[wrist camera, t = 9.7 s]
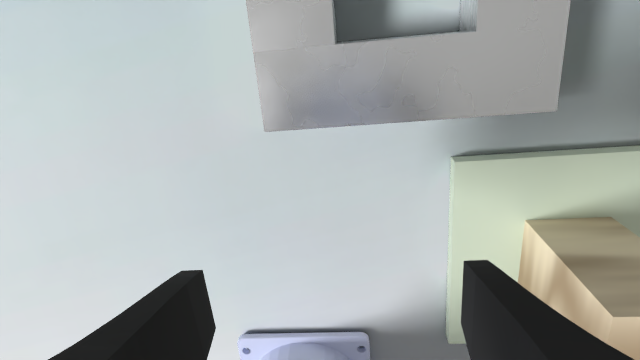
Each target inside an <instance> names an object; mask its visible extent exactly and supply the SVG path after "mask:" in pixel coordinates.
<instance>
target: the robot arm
mask: <svg viewBox="0 0 640 360" xmlns="http://www.w3.org/2000/svg"><path fill="white" fill-rule="evenodd" d="M461 326H462V329H463V333H464V337H465V341H466V344H467V348H468V351H469V355H470V358H471V360H634V359H633V358H631V357H629V356H627V355H626V354H624V353H622V352H620V351H619V350H617V349H615V348H613V347H612V346H610V345H608V344H606V343H605V342H603V341H601V340H600V339H598V338H597V337H595V336H593V335H592V334H590V333H589V332H587V331H586V330H584V329H582V328H581V327H579V326H578V325H576V324H575V323H573V322H572V321H570V320H569V319H567V318H566V317H564V316H563V315H561V314H560V313H558V312H557V311H556V310H554V309H553V308H551V307H550V306H548V305H547V304H546V303H544V302H543V301H542V300H540V299H539V298H537V297H536V296H535V295H533V294H532V293H531V292H529V291H528V290H527V289H525V288H524V287H523V286H521V285H520V284H519V283H518V282H516V281H515V280H514V279H512V278H511V277H510V276H508V275H507V274H506V273H505V272H503V271H502V270H501V269H499V268H498V267H497V266H495V265H494V264H493V263H491V262H490V261H489V260H469V261H464V265H463V286H462V307H461ZM215 329H216V327H215V323H214V318H213V314H212V309H211V305H210V301H209V296H208V292H207V288H206V283H205V279H204V274H203V270H191V271H181V272H179V273H178V274H176V275H174V276H173V277H171V278H170V279H168V280H167V281H166V282H164V283H163V284H161V285H160V286H158V287H157V288H156V289H154V290H153V291H152V292H150V293H149V294H147V295H146V296H145V297H143V298H142V299H140V300H139V301H138V302H136V303H135V304H133V305H132V306H131V307H129V308H128V309H126V310H125V311H124V312H122V313H121V314H119V315H118V316H116V317H115V318H113V319H112V320H110V321H109V322H107V323H106V324H104V325H103V326H101V327H100V328H98V329H97V330H95V331H94V332H92V333H91V334H89V335H88V336H86V337H85V338H83V339H82V340H80V341H79V342H77V343H76V344H74V345H72V346H71V347H69V348H67V349H66V350H64V351H62V352H61V353H59V354H57V355H55V356H54V357H52V358H50V359H48V360H207V357H208V353H209V350H210V347H211V343H212V340H213V336H214V332H215ZM237 344H238V349H239V354H240V359H241V360H370V344H369V336H368V335H367V334H366V333H364V332H328V333H276V334H243V335H241V336H240V337H239V339H238V343H237ZM359 346H364V347H363V348H359ZM246 348H249V350H248V349H246Z"/></svg>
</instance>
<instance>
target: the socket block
mask: <svg viewBox="0 0 640 360" xmlns="http://www.w3.org/2000/svg"><path fill="white" fill-rule="evenodd" d="M570 2H571V0H460V28H459V31H456V32H445V33H434V34H423V35H412V36H401V37H390V38H380V39H369V40H358V41H347V42H337V36H336V22H335V7H334V0H246V5H247V12H248V19H249V26H250V33H251V40H252V47H253V54H254V61H255V68H256V75H257V82H258V89H259V96H260V103H261V110H262V117H263V124H264V131H265V132H271V131H285V130H299V129H313V128H327V127H341V126H356V125H370V124H384V123H398V122H412V121H426V120H440V119H455V118H469V117H483V116H497V115H511V114H525V113H539V112H554V111H557V106H558V98H559V90H560V82H561V74H562V66H563V58H564V50H565V42H566V34H567V26H568V18H569V10H570Z"/></svg>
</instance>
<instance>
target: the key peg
mask: <svg viewBox="0 0 640 360" xmlns="http://www.w3.org/2000/svg"><path fill="white" fill-rule="evenodd" d="M518 283H519V284H520V285H521V286H523V287H524V288H525V289H527V290H528V291H529V292H531V293H532V294H533V295H535V296H536V297H537V298H539V299H540V300H542V301H543V302H544V303H546V304H547V305H548V306H550V307H551V308H553V309H554V310H556V311H557V312H558V313H560V314H561V315H563V316H564V317H566V318H567V319H569V320H570V321H572V322H573V323H575V324H576V325H578V326H579V327H581V328H582V329H584V330H586V331H587V332H589V333H590V334H592V335H593V336H595V337H597V338H598V339H600V340H601V341H603V342H605V343H606V344H608V345H610V346H612V347H613V348H615V349H617V350H619V351H620V352H622V353H624V354H626V355H627V356H629V357H631V358H633V359H634V360H640V237H638V236H637V235H636V234H634V233H633V232H631V231H630V230H629V229H627V228H626V227H625V226H623V225H622V224H620V223H619V222H618V221H616V220H615V219H613V218H612V217H594V218H569V219H543V220H525V225H524V233H523V242H522V251H521V259H520V268H519V277H518Z"/></svg>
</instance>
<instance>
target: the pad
mask: <svg viewBox="0 0 640 360" xmlns="http://www.w3.org/2000/svg"><path fill="white" fill-rule="evenodd" d="M594 217H612V218H613V219H615V220H616V221H618V222H619V223H620V224H622V225H623V226H625V227H626V228H627V229H629V230H630V231H631V232H633V233H634V234H636V235H637V236H638V237H640V145H637V146H621V147H605V148H588V149H572V150H556V151H540V152H523V153H507V154H491V155H474V156H458V157H451V170H450V202H449V235H448V268H447V301H446V333H445V334H446V337H447V340H448V344H466V341H465V337H464V333H463V329H462V326H461V307H462V286H463V265H464V261H469V260H489V261H490V262H491V263H493V264H494V265H495V266H497V267H498V268H499V269H501V270H502V271H503V272H505V273H506V274H507V275H508V276H510V277H511V278H512V279H514V280H515V281H516V282H518V277H519V268H520V259H521V251H522V242H523V233H524V225H525V220H543V219H569V218H594Z"/></svg>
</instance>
